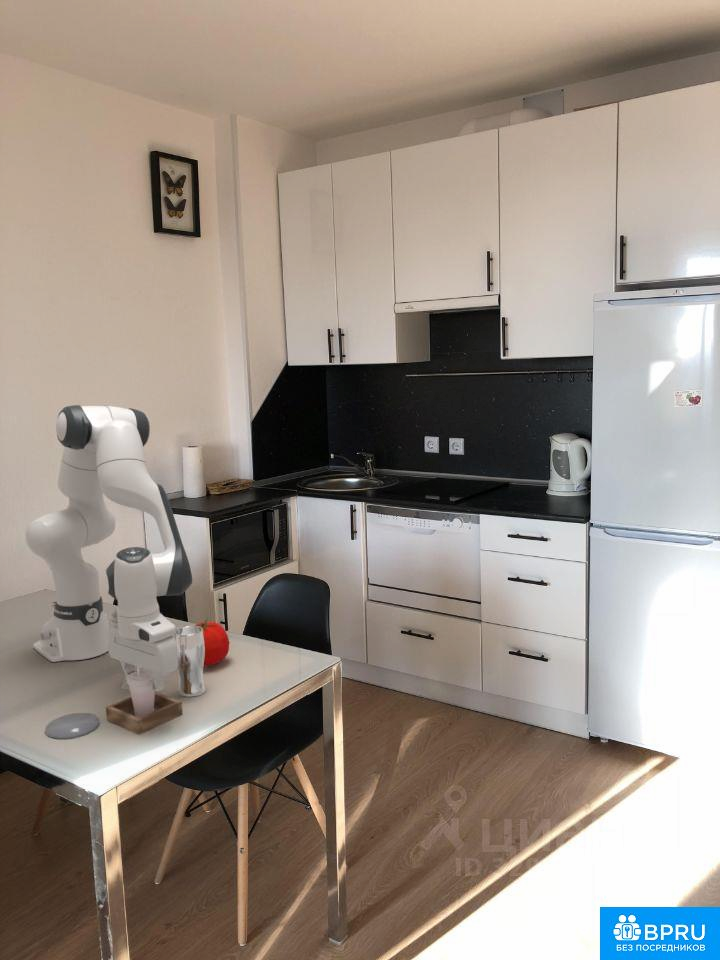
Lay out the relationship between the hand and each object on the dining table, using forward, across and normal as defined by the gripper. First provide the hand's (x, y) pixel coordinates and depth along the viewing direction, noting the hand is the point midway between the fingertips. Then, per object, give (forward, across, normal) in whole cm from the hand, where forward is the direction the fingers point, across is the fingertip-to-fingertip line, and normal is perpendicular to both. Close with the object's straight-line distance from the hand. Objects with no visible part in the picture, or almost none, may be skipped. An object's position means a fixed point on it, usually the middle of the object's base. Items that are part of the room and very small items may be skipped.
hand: (144, 684), depth 179 cm
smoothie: (+8, 0, 0) cm, 8 cm away
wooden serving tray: (+8, 0, 0) cm, 8 cm away
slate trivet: (+7, -10, -12) cm, 17 cm away
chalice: (+8, -17, +9) cm, 21 cm away
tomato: (+8, -12, +28) cm, 31 cm away
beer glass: (+8, -2, +15) cm, 17 cm away
